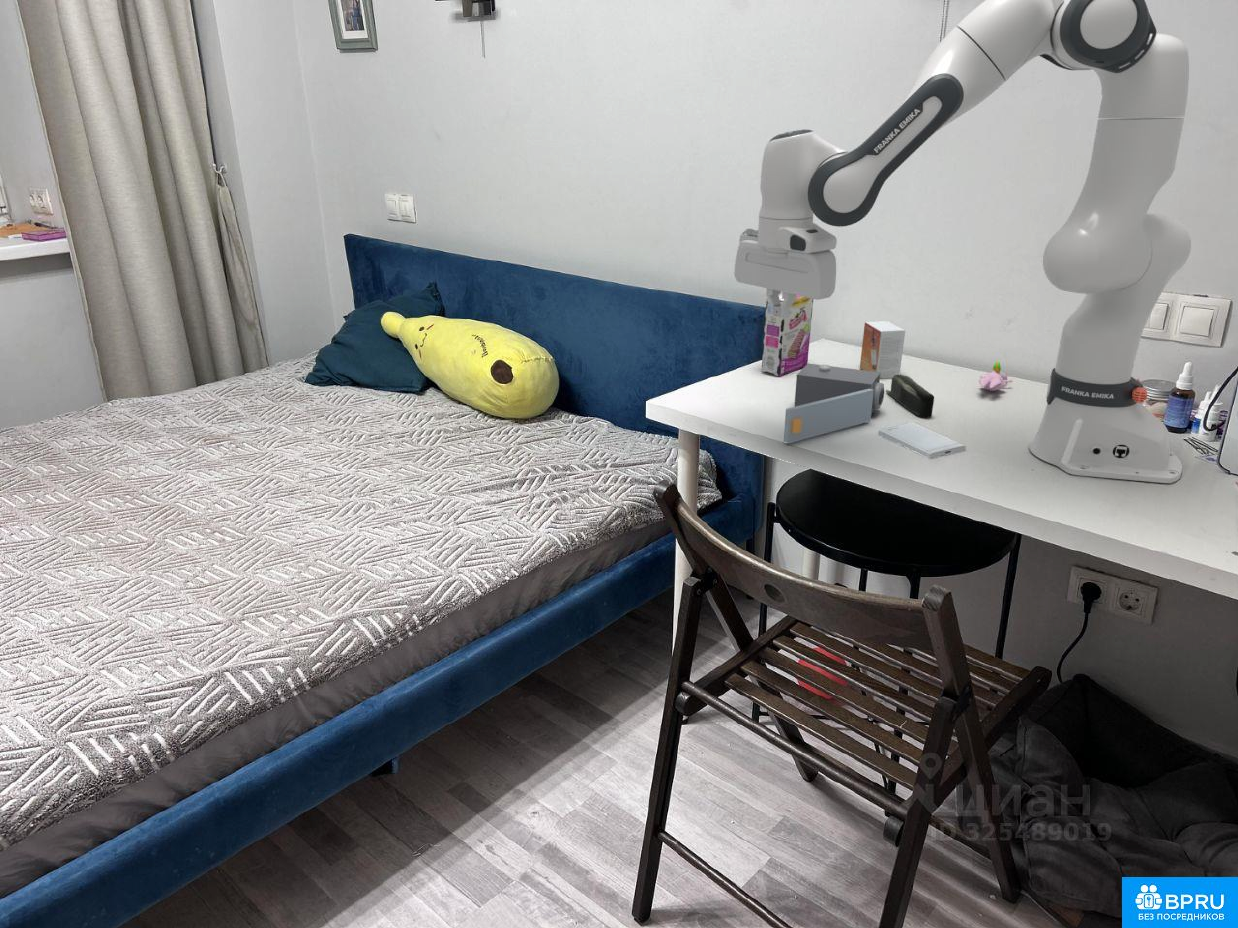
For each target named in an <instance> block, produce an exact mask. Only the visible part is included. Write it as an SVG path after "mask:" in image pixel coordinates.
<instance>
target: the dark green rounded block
mask: <svg viewBox="0 0 1238 928" xmlns="http://www.w3.org/2000/svg"><path fill="white" fill-rule="evenodd" d="M890 384H891V385H890V390H889V389H886V390H885V393H886V394H888V395H889V396H890V397H892V398H893V399H894V400H896V401H897V402H898V403H899V404H901V405H903V406H904V407H905V408H906V409H907V411H909V412H911V413H912V414H913V415H914V414H915V416H916V417H918V416H919V418H931V417H932V416H933V408H934V403H935V396H934V395H933V394H932V393H931V392H929V391H928V390H927V389H925V388H924V387H923V386H921V385H919V384H918V383H917V382H916V381H915V380H914V379H913V378H912V377H911V376H907V375H903V374H900V375H895V376H893V378H891V383H890Z"/></svg>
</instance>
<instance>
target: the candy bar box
mask: <svg viewBox="0 0 1238 928" xmlns="http://www.w3.org/2000/svg"><path fill="white" fill-rule="evenodd" d="M778 295H779V299H780V303H781V305H782V303H783V301H784V299H785V298H782V293H780V294H778ZM813 306H814V299H812V298H807V297H803V296H799V295H797V298H796V300H795V301H794V303H793V304H792V306H791V307H790V316H789V317H787V318H781V317H778V316H773V315H771V305H770V303H769V300H768V298H767V297H766V305H765V319H764V320H765V321H764V331H763V332H764V333H763V335H764V336H763V346H762V358H761V359H762V360H761V371H760V372H761V373H762V374H765V375H766V374H767V375H769V376H773V377H778V378H779V377H782V376H785V375H787V374H790V373H792V372H795V371H797V370H800V369H803V368H804V367H805V366H806V365H807V364H808V363H809V362H808V361H809V360H808V359H809V350H810V340H811V327H812V317H813Z"/></svg>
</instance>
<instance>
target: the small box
mask: <svg viewBox="0 0 1238 928" xmlns="http://www.w3.org/2000/svg"><path fill="white" fill-rule="evenodd" d="M862 334H863V335H862V343H861V344H862V345H861V353H860V354H861V355H860V361H859V362H860V363H859V369H860V370H865V371H873V372H881V373H880V380H881V379H882V380H884V379H892V378H893V376H895V375H901V374H900V373H901V368H902V358H903V353H904V352H903V350H904V344H905V343H904V342H905V336H906V330H905V329H904V328H901V327H900V326H898V325H896V324H895V323H892V322H891V321H889V320H883V321H882V320H880V321H879V320H878V321H864V327H863V333H862Z"/></svg>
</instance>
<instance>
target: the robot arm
mask: <svg viewBox="0 0 1238 928" xmlns="http://www.w3.org/2000/svg"><path fill="white" fill-rule="evenodd" d="M1157 32H1158V31H1157V28H1156V25H1155V23H1154V21H1153V19H1152V16H1151V14H1150V12H1149V8H1148V5H1147V3H1146V0H983V2H981V3H979V5H977V6H976V7H975V8H974V9H973V10H972V11H971V12H969V13H968V14H967V15H966V16H965V17H964V18H962V19H961V21H960V22H958V24H956V25H955V26H954V27H953V28H952V29H951V30H950V31H949V32H948V33H947V35H945V36H944V38H942V40H941V41H940V42H939V44H938V45H936V47H935V48H934V49H933V50H932V52H931V53H930V55H929V56H928V57H927V59H926V60H925V61H924V63H923V65H922V66H921V68H920V70H919V72H918V75H917V77H916V79H915V81H914V84H913V86H912V88H911V90H910V91H909V93H908V95H907V96H906V98H905V99H904V100H903V102H902V103H901V105H899V107H897V109H896V110H895V111H894V112H893V113H892V114H891V115H890V116H889V117H888V118H887V119H886V120H885V121H883V122H882V123H881V124H880V125H879V126H878V127H877V129H876V130H874V131H873V133H871V134H870V135H869V136H868V137H867V138H866V139H865V140H864V141H863V142H861V144H860V145H859V146H857V147H856V148H854V149H853V150H852V151H851V150H850V151H849V150H847V149H843V148H841V147H838V146H837V145H834V144H832V143H830V142H829V141H827V140H825V139H824V138H822V137H820V136H819V135H818V134H817V133H816V132H815V131H814V130H812V129H798V130H793V131H787V132H783V133H779V134H777V135H774V136H773V137H772V138H771V139H770V140H769V141H768V142H767V143H766V144H765V147H764V151H763V158H762V161H761V162H762V163H761V172H760V186H759V187H760V193H761V207H760V210H759V214H758V228H757V229H753V228H746V229H745V230H744V231H743V232H742V233H741V234H740V235H739V240H738V242H739V243H738V247H737V251H736V256H735V262H734V272H733V273H734V278H735V279H736V282H737V283H741V284H746V285H749V286H750V285H751V286H755V287H758V288H763V289H766V291H765V292H766V293H765V295H766V299H767V298H768V300H769V303H770V305H771V315H773V316H778V317H781V318H787V317H789V316H790V307H791V306H792V304H793V303H794V301H795V300H796V298H797V295H799V296H803V297H807V298H812V299H813V300H824V299H827V298H830V297H831V296H832V295H833V294H834V292H835V290H836V281H837V260H836V259H837V258H836V256H835V253H834V252H833V251H832V250H834V249H836V247H837V244H838V243H837V242H838V241H837V237H836V236H835V235H834V234H832V233H830V232H829V231H827V230H825V229H824V228H822V227H820V226H819V225H818V224H817V223H815V222H814V216H816V218H817V219H818V220H820V221H821V222H823V223H824V224H826V225H829V226H832V227H839V228H840V227H841V228H842V227H848V226H851V225H854V224H856V223H858V222H860V221H861V220H863V219H864V218H865V217H866V216H867V215H868V214H869V212H870V211H871V210H872V208H873V207H874V205H875V203H876V201H877V198H878V197H879V194H880V192H881V189H882V188H883V186H884V184H885V183H886V181H887V180H888V179H889V178H890V177H891V175H892V174H893V173H894V172H895V171H896V170H897V169H898V168H899V167H900V166H901V165H903V164H904V163H905V162H906V161H907V160H908V159H909V158H910V157H911V156H912V155H913V154H914V153H915V152H916V151H917V150H918V149H919V148H920V147H921V146H922V145H923V144H924V143H926V142H927V140H928V139H930V138H932V136H933V135H934V134H935V133H937V132H939V131H940V130H941V129H942V128H944V127H945V126H947V125H948V124H950V123H951V122H954V121H955V120H956V119H958V118H960V117H961V116H963V115H964V114H966V113H967V112H969V111H970V110H972V109H973V108H975V107H976V106H978V105H979V104H980V103H982V102H984V101H985V100H986V99H987V98H989V97H990V96H991V95H992V94H994V93H995V92H996V91H997V90H999V88H1001V86H1002V85H1004V84H1005V82H1007V81H1008V80H1009V79H1010V78H1011V77H1012V76H1013V75H1014V74H1015V73H1016V72H1018V70H1020V69H1021V68H1022V67H1024V65H1026V64H1028V62H1029V61H1031V60H1033V59H1034V58H1037V57H1038V56H1039V57H1040V58H1042V59H1044V60H1046V61H1048V62H1049V63H1052V64H1053V65H1055V66H1056V67H1059V68H1060V69H1061V68H1062V69H1065V70H1067V71H1090V70H1092V71H1094V72H1095V73H1096V74H1097V76H1098V79H1099V80H1100V81H1099V82H1100V85H1101V96H1102V97H1101V101H1100V106H1099V111H1098V116H1097V117H1098V118H1097V124H1096V130H1095V136H1094V140H1093V141H1094V142H1093V147H1092V152H1091V159H1090V164H1089V168H1088V172H1087V177H1085V178H1086V179H1085V182H1084V184H1083V187H1082V189H1081V192H1080V194H1079V196H1078V199H1077V201H1076V203H1075V205H1074V206H1073V208H1072V211H1071V213H1070V215H1069V216H1068V218H1067V219H1066V221H1065V223H1064V224H1063V225H1062V226H1061V227H1060V229H1058V231H1057V232H1055V233H1054V234H1053V236H1052V237H1051V238H1050V239H1049V240H1048V242H1047V244H1046V245H1045V248H1044V251H1043V256H1042V257H1043V258H1042V266H1043V270H1044V274H1045V276H1046V278H1047V280H1048V281H1049V282H1050V284H1052V286H1053V287H1055V288H1057V289H1059V290H1061V291H1063V292H1064V291H1065V292H1067V293H1068V292H1070V293H1075V294H1085V296H1084V298H1083V300H1082V301H1081V303H1080V304H1079V306H1078V307H1077V308H1076V309H1075V311H1074V312H1073V313H1072V314H1070V316H1069V317H1068V318H1067V319H1066V321H1065V322H1064V324H1063V327H1062V332H1061V337H1060V340H1059V341H1060V342H1059V346H1058V350H1057V351H1058V352H1057V358H1056V363H1055V367H1054V368H1052V371H1051V372H1050V373H1051V375H1050V376H1049V380H1048V384H1047V390H1046V396H1045V398H1046V406H1045V410H1044V413H1043V417H1042V419H1041V420H1040V421H1041V422H1040V423H1039V427H1038V430H1037V431H1036V433H1035V435H1034V438H1033V440H1031V443H1030V445H1029V450H1030V452H1031V454H1033V455H1034V456H1035V457H1037V458H1038V459H1040V460H1042V461H1044V462H1046V463H1049V464H1051V465H1054V466H1056V467H1058V468H1060V469H1061V470H1062V471H1064V472H1066V473H1067V474H1069V475H1070V474H1071V475H1075V476H1084V477H1092V478H1093V477H1096V478H1107V479H1115V480H1116V479H1117V480H1126V481H1127V480H1129V481H1139V482H1150V483H1159V484H1160V483H1161V484H1173V483H1175V482H1176V481H1178V480H1179V479H1180V478H1181V476H1182V474H1183V473H1182V472H1183V464H1182V461H1181V459H1180V457H1179V455H1177V454H1176V453H1174V452H1173V451H1171V438H1170V437H1171V436H1170V434H1169V430H1168V428H1167V426H1166V424H1164V422H1162V421H1161V419H1160V418H1158V417H1157V416H1156V415H1155V414H1154V413H1152V411H1151V410H1149V409H1148V408H1147V407H1146V406H1145V405H1143V404H1142V403H1144V402H1145V401H1146V400H1147V398H1148V393H1147V390H1146V388H1144V385H1143V384H1142V382H1141V380H1140V379H1139V378H1137V379H1136V378H1134V377H1133V376H1132V375H1133V374H1132V373H1133V370H1134V367H1135V366H1134V365H1135V363H1136V358H1137V354H1138V349H1139V345H1140V341H1141V337H1142V334H1143V332H1144V329H1145V326H1146V324H1147V321H1148V319H1149V317H1150V316H1151V313H1152V312H1153V310H1154V308H1155V305H1156V304H1157V303H1158V300H1159V298H1160V297H1161V295H1162V293H1163V291H1164V289H1165V288H1166V286H1167V284H1168V283H1169V281H1170V280H1171V279H1172V278H1173V277H1174V275H1175V274H1176V273H1178V272H1179V270H1180V269H1182V268H1183V267H1184V265H1186V263H1187V260H1188V258H1189V256H1190V254H1191V248H1192V242H1191V241H1192V240H1191V236H1190V233H1189V231H1188V229H1187V227H1186V225H1184V224H1183V223H1182V222H1181V221H1180V220H1178V219H1175V218H1174V217H1170V216H1166V215H1163V214H1162V215H1161V214H1156V213H1148V212H1149V209H1150V207H1151V204H1152V203H1153V201H1154V200H1155V198H1156V195H1158V193H1159V192H1160V190H1161V189H1162V188H1163V186H1164V185H1166V184H1167V182H1168V181H1170V179H1171V177H1172V176H1173V174H1174V171H1175V169H1176V168H1175V167H1176V164H1177V159H1178V158H1177V157H1178V152H1179V148H1180V142H1181V136H1182V131H1183V124H1184V120H1185V118H1184V117H1185V116H1186V115H1185V114H1186V111H1187V110H1186V108H1187V101H1188V94H1189V93H1188V92H1189V80H1190V79H1189V76H1190V73H1189V72H1190V70H1189V69H1190V68H1189V67H1190V64H1189V63H1190V61H1189V60H1190V59H1189V50H1188V47H1187V45H1186V44H1185V43H1184V42H1183V40H1181V39H1180V38H1178V37H1176V36H1174V35H1170V34H1167V33H1157ZM781 294H782V298H785V299H784V301H783V303H782V305H781V303H780V299H779V295H781Z"/></svg>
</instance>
